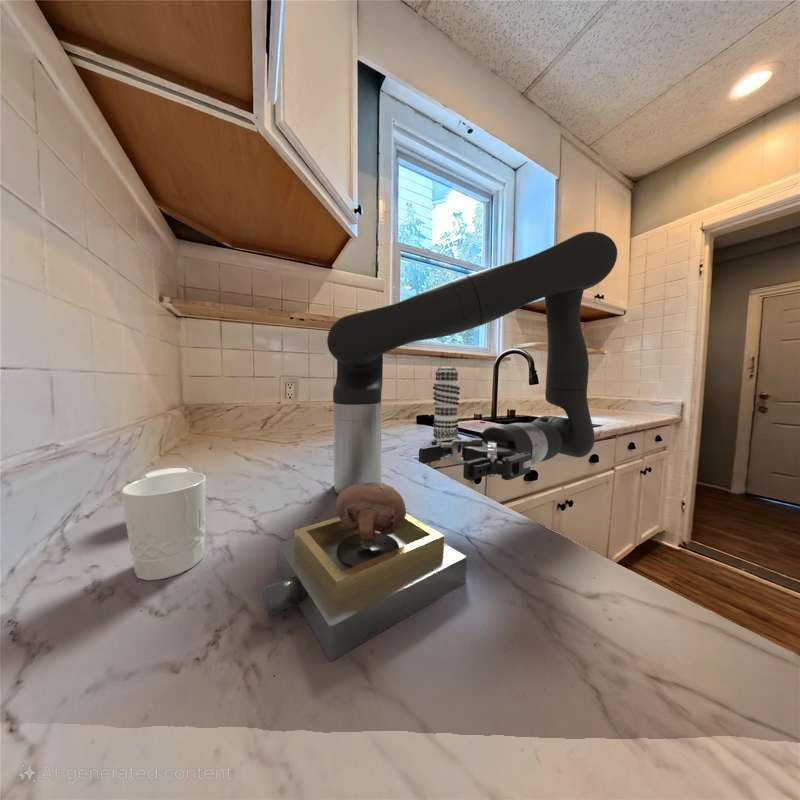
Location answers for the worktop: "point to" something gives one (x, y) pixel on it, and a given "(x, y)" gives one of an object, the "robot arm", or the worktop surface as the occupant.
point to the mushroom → (371, 510)
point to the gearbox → (361, 579)
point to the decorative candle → (446, 403)
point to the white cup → (165, 523)
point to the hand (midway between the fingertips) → (441, 463)
